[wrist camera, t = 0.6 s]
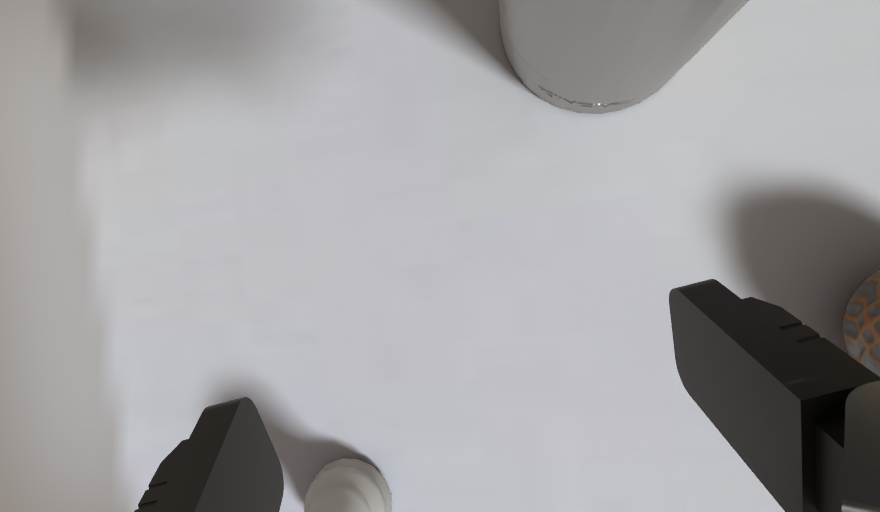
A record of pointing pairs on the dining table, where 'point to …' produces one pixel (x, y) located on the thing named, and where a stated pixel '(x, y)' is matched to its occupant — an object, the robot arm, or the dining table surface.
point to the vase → (864, 324)
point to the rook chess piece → (348, 489)
